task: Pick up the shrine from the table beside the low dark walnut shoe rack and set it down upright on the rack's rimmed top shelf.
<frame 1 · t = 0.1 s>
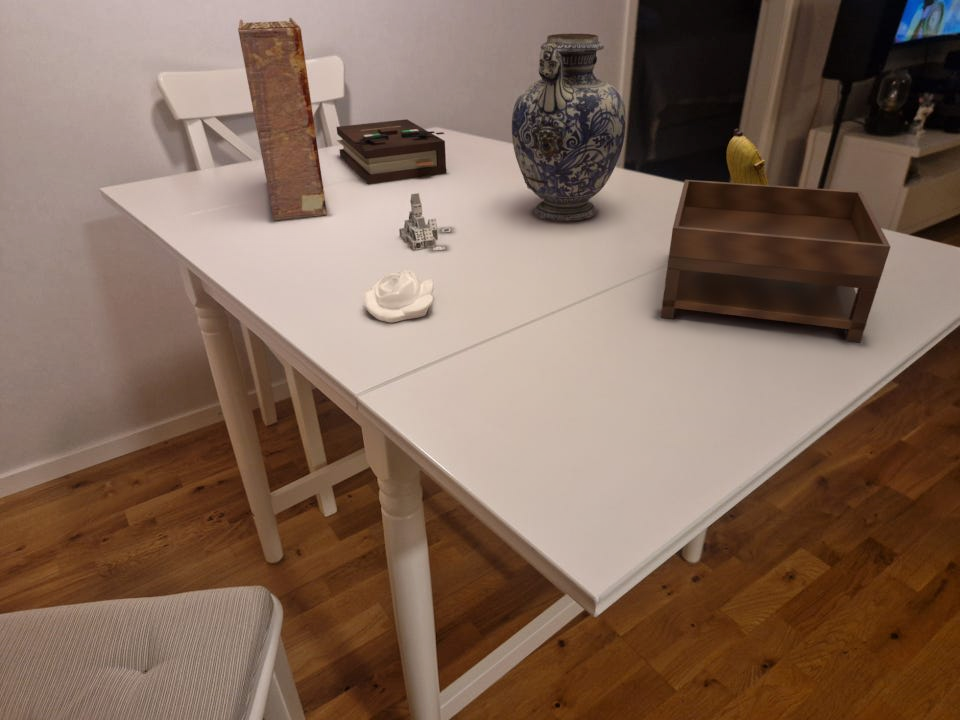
rose: (402, 307, 85), on the table
decorative vase: (564, 213, 115), on the table
house of cards: (433, 241, 105), on the table
shoe rack: (754, 294, 85), on the table
shrine: (751, 225, 108), on the table
decorative book: (390, 165, 146), on the table
book: (297, 199, 126), on the table
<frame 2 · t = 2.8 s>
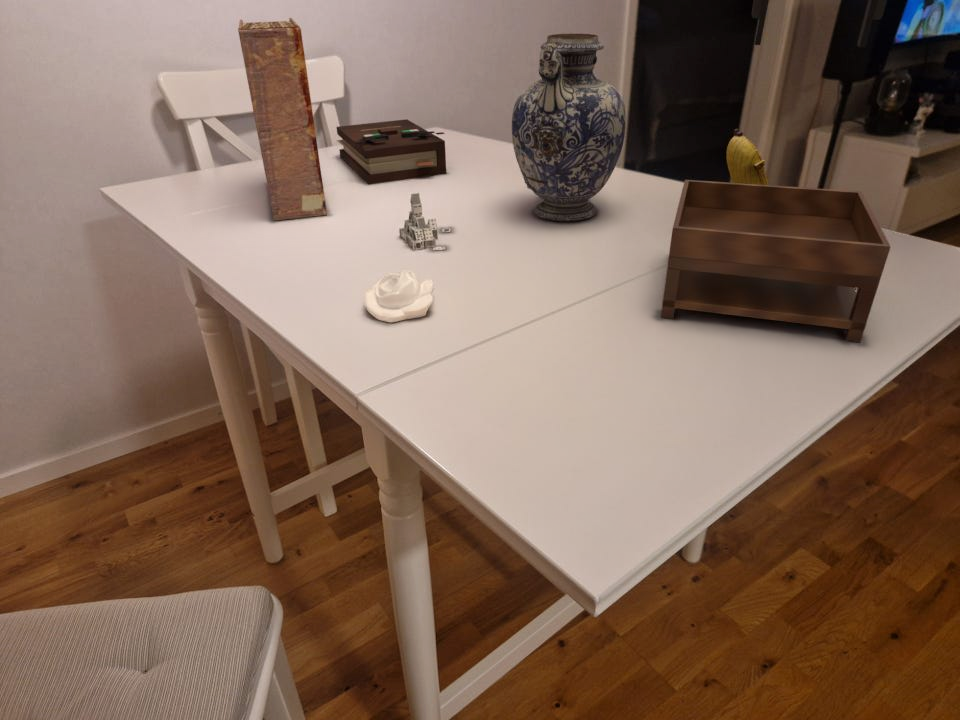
hand: (808, 45, 94), 27 cm above the table, tool pointing down, fingers open, 13 cm apart
nothing on the table moved.
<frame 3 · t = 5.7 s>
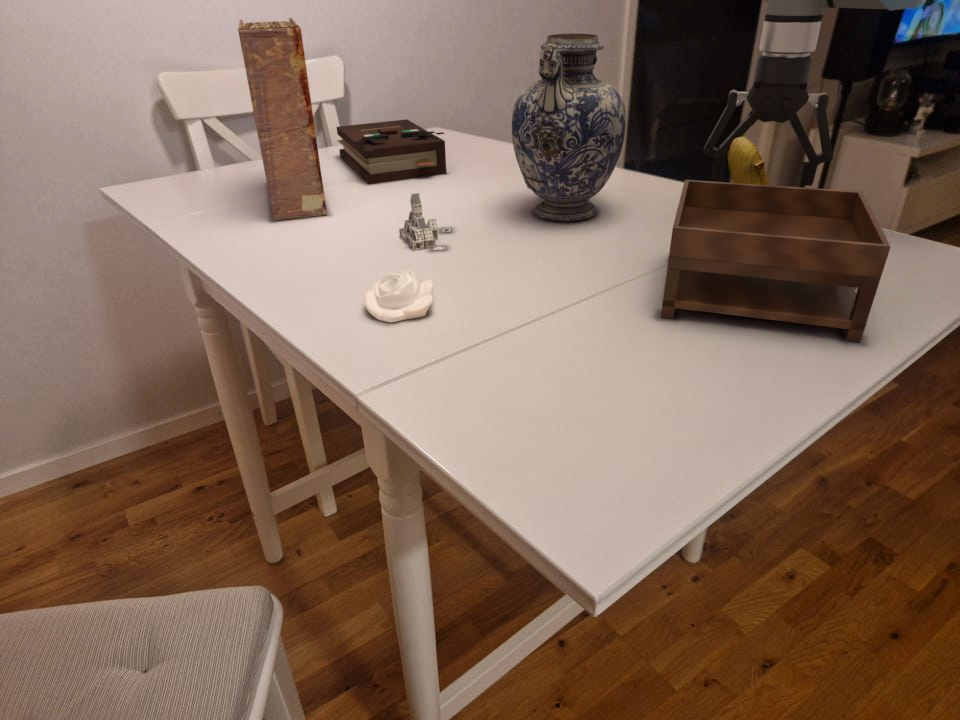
hand: (756, 202, 106), 4 cm above the table, tool pointing down, fingers closed on shrine, 11 cm apart
shrine: (751, 225, 108), on the table, touching gripper
everything else where it was.
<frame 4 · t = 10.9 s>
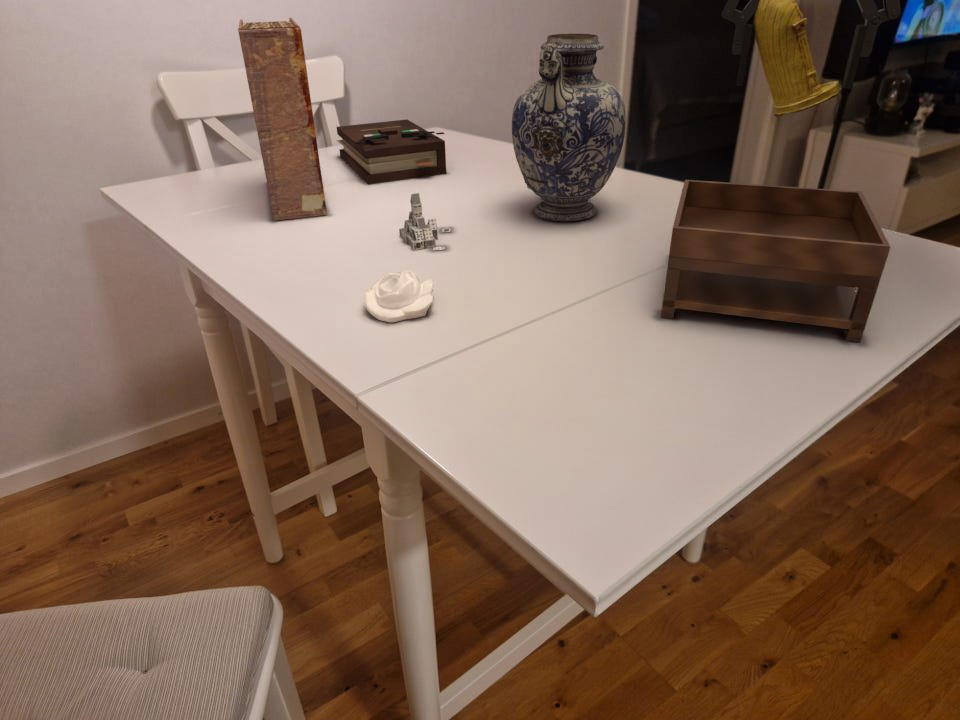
hand: (791, 85, 80), 24 cm above the table, tool pointing down, fingers closed on shrine, 11 cm apart
shrine: (785, 119, 82), point 20 cm above the table, touching gripper
everything else where it was.
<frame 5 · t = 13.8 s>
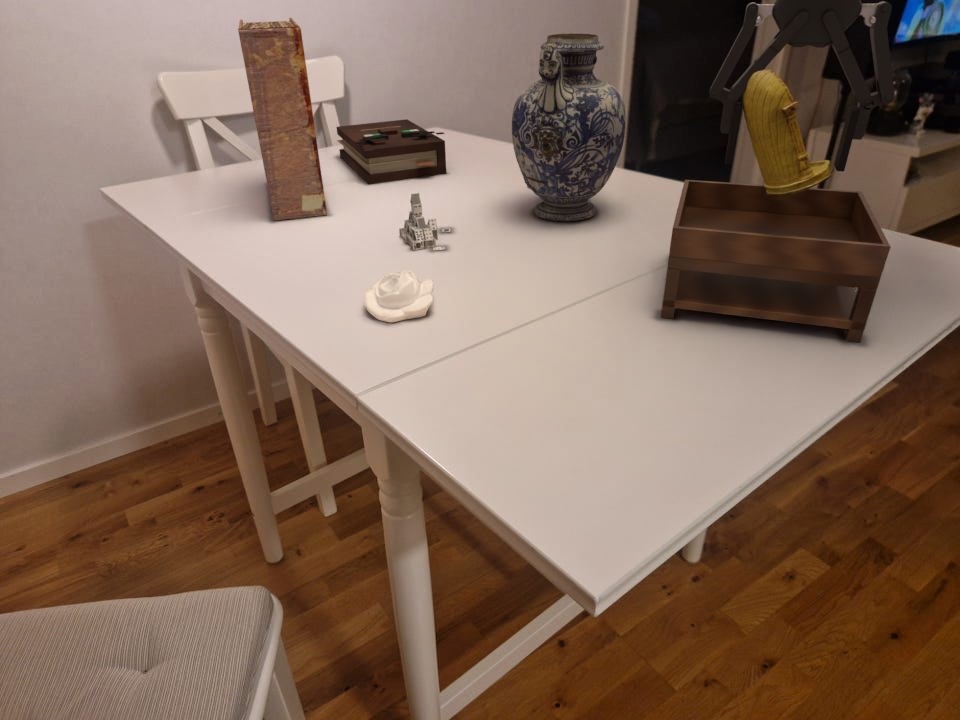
hand: (782, 165, 77), 17 cm above the table, tool pointing down, fingers closed on shrine, 11 cm apart
shrine: (775, 197, 79), point 13 cm above the table, touching gripper
everything else where it was.
when the fingers open (12 cm above the table, at t = 16.1 s): shrine stays where it is, resting on shoe rack.
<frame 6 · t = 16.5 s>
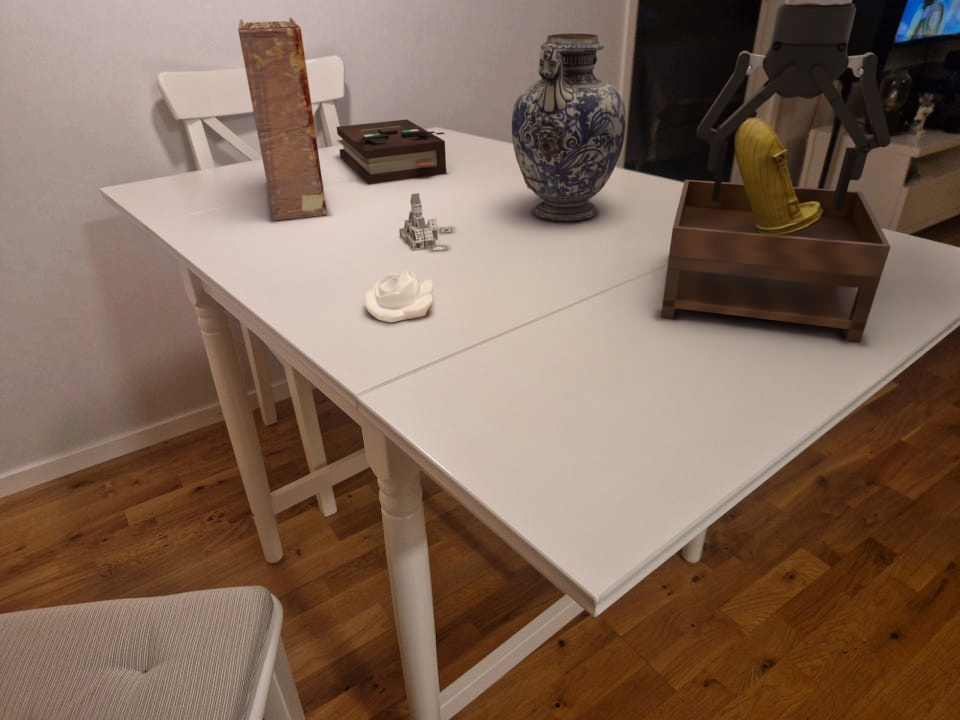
hand: (774, 202, 79), 12 cm above the table, tool pointing down, fingers open, 13 cm apart
shrine: (767, 237, 81), point 8 cm above the table, touching shoe rack
everything else where it was.
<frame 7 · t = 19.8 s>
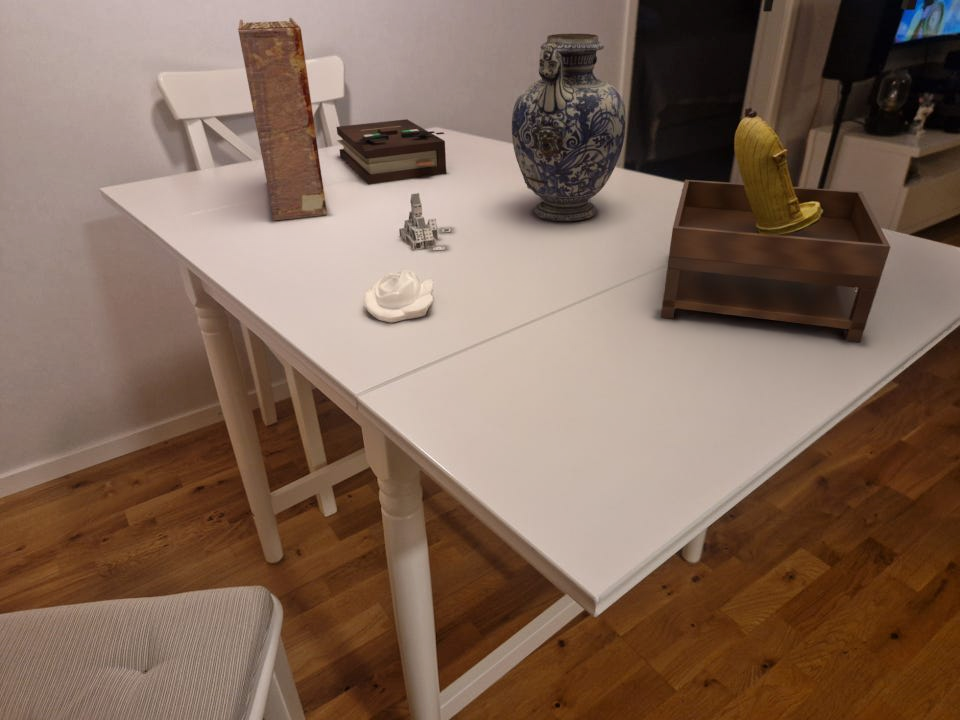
hand: (835, 10, 70), 33 cm above the table, tool pointing down, fingers open, 13 cm apart
nothing on the table moved.
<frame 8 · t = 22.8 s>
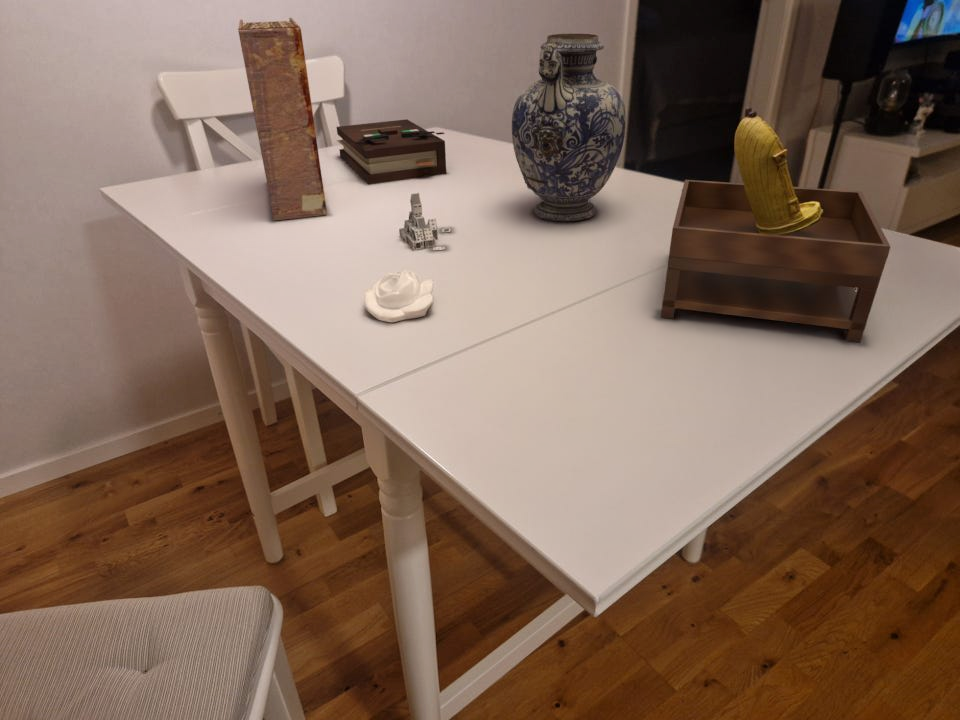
nothing on the table moved.
at the end: shrine inside the target area on the shoe rack (0.0 cm from its centre), point 7.8 cm above the shoe rack's base; shrine tilted 0°; the gripper is holding nothing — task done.
